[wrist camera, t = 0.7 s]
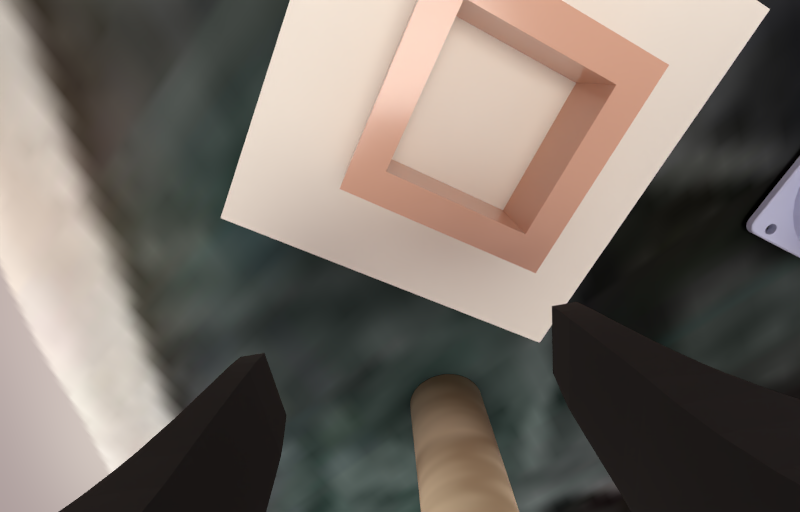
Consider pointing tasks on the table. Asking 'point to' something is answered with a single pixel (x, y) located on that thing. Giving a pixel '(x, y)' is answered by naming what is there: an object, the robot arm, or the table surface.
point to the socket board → (475, 137)
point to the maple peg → (457, 449)
